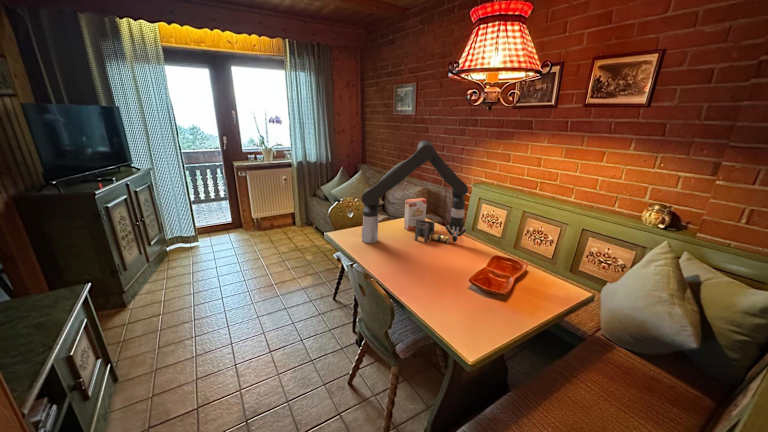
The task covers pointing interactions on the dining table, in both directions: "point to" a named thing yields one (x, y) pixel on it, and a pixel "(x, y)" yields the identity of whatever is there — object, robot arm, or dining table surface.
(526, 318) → the dining table surface
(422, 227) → the dark grey legged block
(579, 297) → the dining table surface
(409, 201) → the cracker box
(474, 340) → the dining table surface
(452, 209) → the robot arm
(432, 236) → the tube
